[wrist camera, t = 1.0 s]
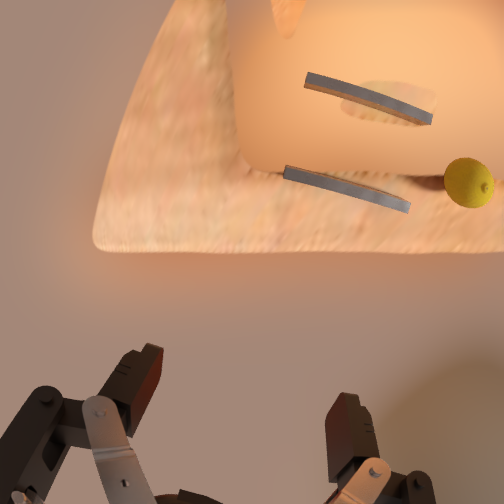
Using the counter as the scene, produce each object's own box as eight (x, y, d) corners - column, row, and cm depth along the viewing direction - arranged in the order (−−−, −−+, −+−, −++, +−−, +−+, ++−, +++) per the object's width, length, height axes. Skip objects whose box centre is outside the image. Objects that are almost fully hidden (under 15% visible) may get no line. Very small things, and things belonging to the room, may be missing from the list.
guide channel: (306, 77, 30) (307, 71, 27) (422, 116, 30) (432, 114, 27) (283, 175, 34) (283, 178, 31) (398, 207, 34) (407, 213, 31)
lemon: (466, 152, 30) (503, 158, 23) (470, 196, 32) (506, 211, 24) (430, 157, 31) (464, 164, 24) (436, 203, 33) (468, 220, 25)
